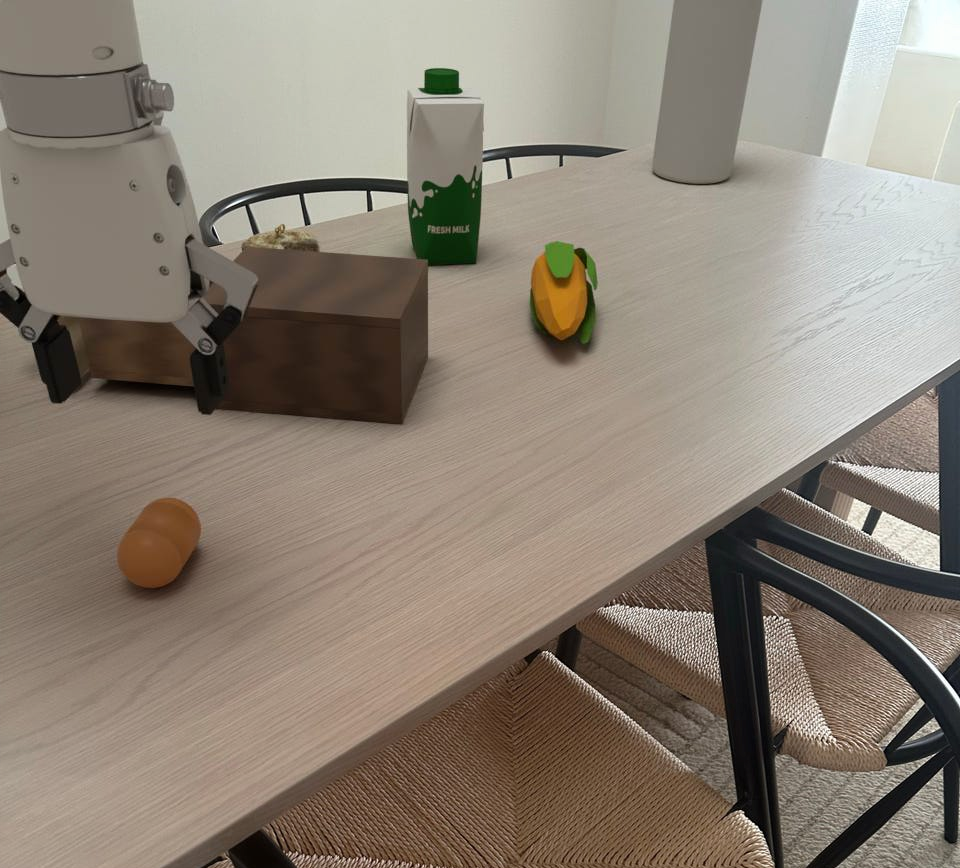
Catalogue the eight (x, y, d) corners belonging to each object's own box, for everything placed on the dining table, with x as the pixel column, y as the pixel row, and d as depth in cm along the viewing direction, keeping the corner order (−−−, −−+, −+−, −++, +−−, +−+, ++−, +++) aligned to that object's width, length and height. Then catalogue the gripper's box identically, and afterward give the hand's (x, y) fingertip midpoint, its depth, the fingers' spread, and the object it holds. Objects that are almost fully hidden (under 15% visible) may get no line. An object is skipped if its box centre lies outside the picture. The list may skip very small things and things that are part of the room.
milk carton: (470, 242, 128) (475, 67, 116) (485, 266, 122) (491, 83, 109) (403, 244, 127) (400, 67, 114) (414, 269, 120) (413, 83, 107)
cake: (226, 279, 117) (217, 231, 114) (274, 256, 124) (267, 210, 121) (296, 287, 113) (289, 238, 110) (342, 263, 120) (336, 216, 117)
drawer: (11, 379, 92) (-14, 294, 87) (74, 322, 102) (56, 244, 97) (237, 397, 90) (225, 313, 85) (277, 338, 100) (269, 260, 95)
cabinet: (210, 408, 90) (194, 302, 84) (257, 343, 102) (246, 246, 95) (402, 424, 89) (400, 318, 83) (428, 357, 100) (428, 259, 94)
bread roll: (175, 603, 68) (164, 551, 65) (113, 597, 68) (100, 544, 65) (213, 539, 74) (204, 488, 71) (156, 534, 74) (145, 483, 72)
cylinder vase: (635, 171, 157) (658, -16, 141) (684, 159, 164) (711, -21, 148) (698, 190, 150) (729, -5, 134) (746, 176, 157) (781, -11, 141)
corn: (595, 225, 110) (607, 290, 95) (592, 293, 115) (604, 365, 100) (528, 227, 111) (530, 292, 95) (529, 294, 116) (530, 367, 100)
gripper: (255, 96, 55) (286, 384, 66) (-41, 81, 56) (37, 366, 67) (211, 127, 49) (253, 437, 60) (-118, 109, 50) (-18, 416, 61)
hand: (139, 399), depth 64 cm, fingers open, 9 cm apart
